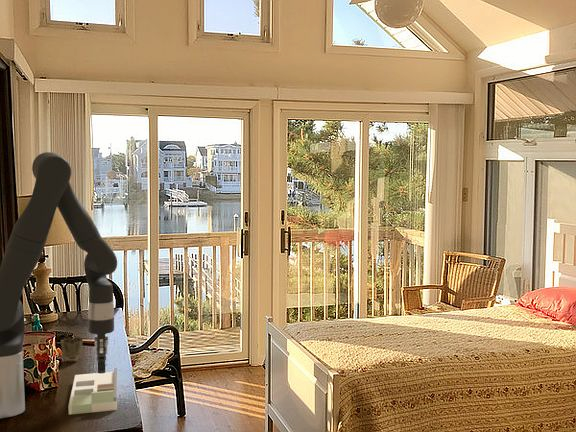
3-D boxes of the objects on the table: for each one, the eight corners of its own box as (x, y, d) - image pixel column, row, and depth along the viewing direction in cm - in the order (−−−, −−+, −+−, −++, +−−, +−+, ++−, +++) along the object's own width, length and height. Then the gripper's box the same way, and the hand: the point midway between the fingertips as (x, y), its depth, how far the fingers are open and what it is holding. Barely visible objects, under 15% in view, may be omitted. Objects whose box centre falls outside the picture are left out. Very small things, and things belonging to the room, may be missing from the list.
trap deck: (116, 409, 183) (116, 390, 183) (68, 414, 180) (68, 395, 180) (117, 378, 210) (116, 362, 210) (75, 382, 207) (74, 365, 207)
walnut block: (113, 398, 185) (113, 388, 185) (97, 400, 184) (97, 389, 184) (113, 393, 190) (113, 383, 189) (97, 394, 189) (97, 384, 188)
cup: (60, 364, 226) (59, 342, 225) (62, 359, 233) (61, 337, 232) (82, 363, 228) (82, 340, 227) (83, 357, 235) (83, 335, 234)
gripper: (114, 320, 188) (114, 378, 190) (113, 310, 201) (113, 365, 202) (87, 322, 186) (88, 380, 188) (88, 312, 199) (88, 367, 200)
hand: (101, 372), depth 195 cm, fingers closed
